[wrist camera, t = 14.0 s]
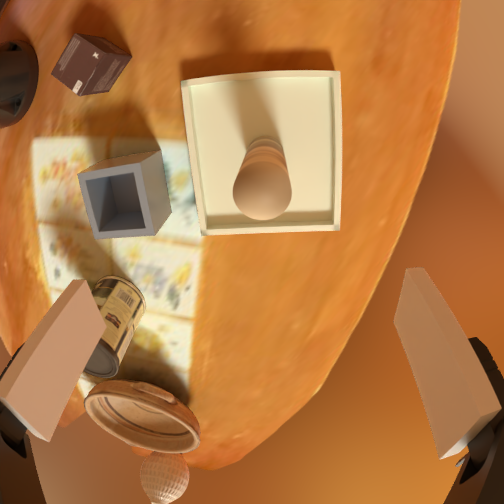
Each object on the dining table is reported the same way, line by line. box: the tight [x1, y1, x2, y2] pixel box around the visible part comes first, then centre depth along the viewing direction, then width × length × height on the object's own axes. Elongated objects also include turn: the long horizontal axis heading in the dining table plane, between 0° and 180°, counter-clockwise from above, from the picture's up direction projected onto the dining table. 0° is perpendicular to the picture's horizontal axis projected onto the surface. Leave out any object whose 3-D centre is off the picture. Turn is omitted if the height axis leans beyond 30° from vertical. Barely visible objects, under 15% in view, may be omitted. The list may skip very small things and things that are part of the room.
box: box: [51, 33, 132, 96], centre depth 28 cm, size 6×6×7 cm
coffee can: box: [83, 276, 146, 378], centre depth 44 cm, size 10×10×14 cm
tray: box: [181, 70, 342, 236], centre depth 35 cm, size 20×18×3 cm
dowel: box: [233, 136, 292, 220], centre depth 29 cm, size 4×4×15 cm
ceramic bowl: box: [84, 379, 201, 453], centre depth 61 cm, size 37×29×10 cm
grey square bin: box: [77, 150, 172, 239], centre depth 36 cm, size 9×9×7 cm
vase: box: [140, 451, 189, 504], centre depth 75 cm, size 16×16×22 cm
